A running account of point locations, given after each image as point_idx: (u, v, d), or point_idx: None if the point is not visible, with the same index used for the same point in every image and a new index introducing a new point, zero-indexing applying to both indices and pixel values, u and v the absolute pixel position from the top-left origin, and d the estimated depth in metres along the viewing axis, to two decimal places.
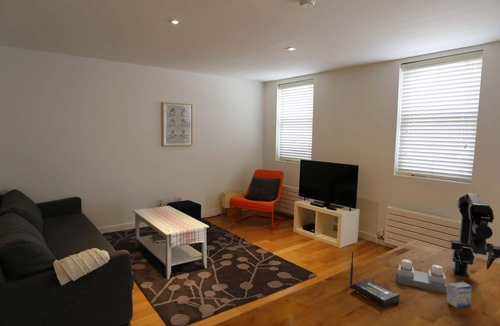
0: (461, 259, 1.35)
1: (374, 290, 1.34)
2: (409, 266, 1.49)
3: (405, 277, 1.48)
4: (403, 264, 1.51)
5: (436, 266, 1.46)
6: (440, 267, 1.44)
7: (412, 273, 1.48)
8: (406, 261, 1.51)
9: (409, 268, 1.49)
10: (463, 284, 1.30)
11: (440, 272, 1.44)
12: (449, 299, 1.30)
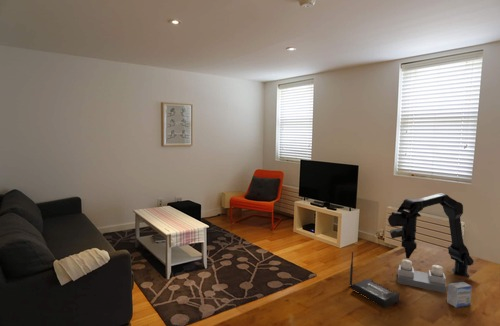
0: None
1: (374, 290, 1.34)
2: (409, 266, 1.49)
3: (405, 277, 1.48)
4: (403, 264, 1.51)
5: (436, 266, 1.46)
6: (440, 267, 1.44)
7: (412, 273, 1.48)
8: (406, 261, 1.51)
9: (409, 268, 1.49)
10: (463, 284, 1.30)
11: (440, 272, 1.44)
12: (449, 299, 1.30)
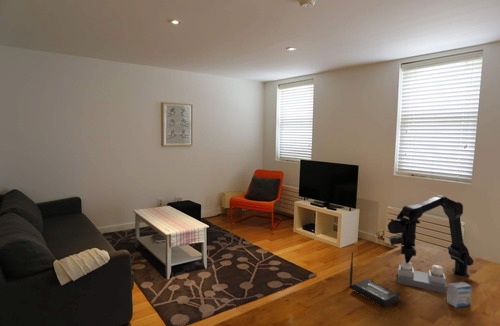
0: None
1: (374, 290, 1.34)
2: (409, 268, 1.49)
3: (405, 277, 1.48)
4: (403, 265, 1.51)
5: (436, 266, 1.46)
6: (440, 267, 1.44)
7: (412, 273, 1.48)
8: None
9: (409, 270, 1.49)
10: (463, 284, 1.30)
11: (440, 272, 1.44)
12: (449, 299, 1.30)
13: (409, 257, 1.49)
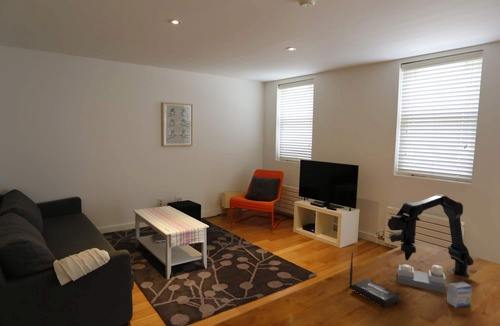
0: None
1: (374, 290, 1.34)
2: None
3: (405, 277, 1.48)
4: (403, 269, 1.51)
5: (436, 266, 1.46)
6: (440, 267, 1.44)
7: (412, 273, 1.48)
8: (406, 266, 1.51)
9: None
10: (463, 284, 1.30)
11: (440, 272, 1.44)
12: (449, 299, 1.30)
13: (409, 254, 1.49)
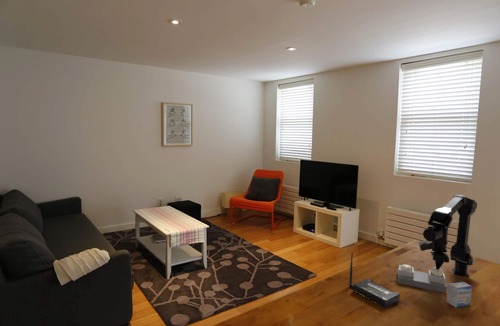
0: None
1: (374, 290, 1.34)
2: None
3: (405, 277, 1.48)
4: (403, 269, 1.51)
5: None
6: (440, 270, 1.45)
7: (412, 273, 1.48)
8: (406, 266, 1.51)
9: None
10: (463, 284, 1.30)
11: (440, 274, 1.44)
12: (449, 299, 1.30)
13: (440, 263, 1.44)
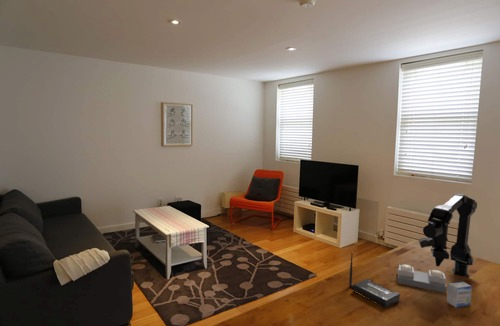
0: (435, 259, 1.46)
1: (375, 290, 1.34)
2: None
3: (405, 277, 1.48)
4: (403, 269, 1.51)
5: (436, 271, 1.46)
6: (440, 273, 1.45)
7: (412, 273, 1.48)
8: (406, 266, 1.51)
9: None
10: (463, 284, 1.30)
11: None
12: (449, 299, 1.30)
13: (440, 260, 1.43)
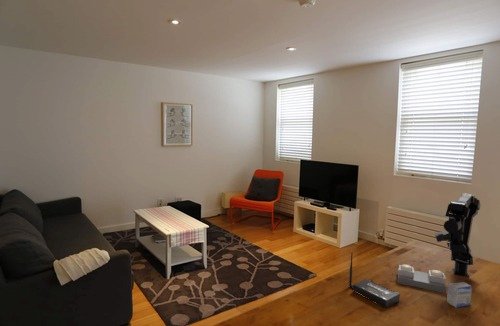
0: (451, 253, 1.48)
1: (375, 290, 1.34)
2: None
3: (405, 277, 1.48)
4: (403, 269, 1.51)
5: (436, 271, 1.46)
6: (440, 273, 1.45)
7: (412, 273, 1.48)
8: (406, 266, 1.51)
9: None
10: (463, 284, 1.30)
11: None
12: (449, 299, 1.30)
13: (456, 254, 1.46)
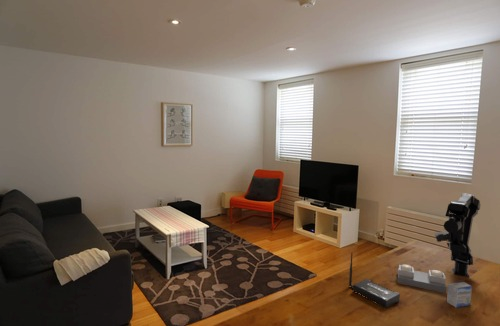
0: (451, 253, 1.48)
1: (375, 290, 1.34)
2: None
3: (405, 277, 1.48)
4: (403, 269, 1.51)
5: (436, 271, 1.46)
6: (440, 273, 1.45)
7: (412, 273, 1.48)
8: (406, 266, 1.51)
9: None
10: (463, 284, 1.30)
11: None
12: (449, 299, 1.30)
13: (456, 254, 1.46)
